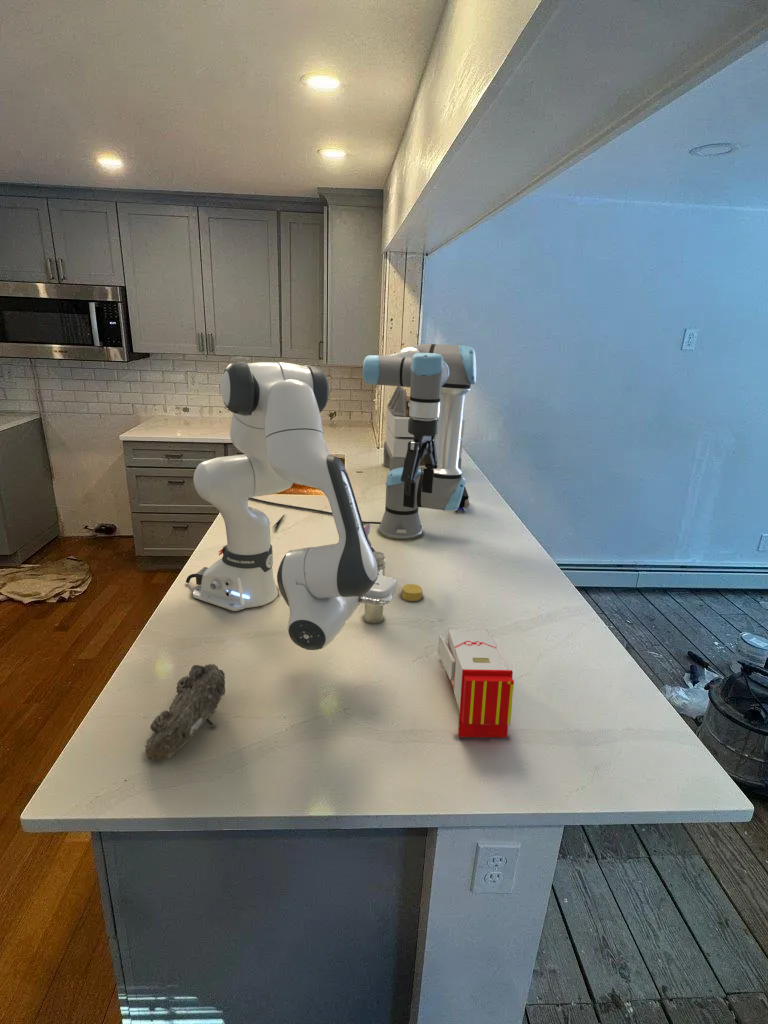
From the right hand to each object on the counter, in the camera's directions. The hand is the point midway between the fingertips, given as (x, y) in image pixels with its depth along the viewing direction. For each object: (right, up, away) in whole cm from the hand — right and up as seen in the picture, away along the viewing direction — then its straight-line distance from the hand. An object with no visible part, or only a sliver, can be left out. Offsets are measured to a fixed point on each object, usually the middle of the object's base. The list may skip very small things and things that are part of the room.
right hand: (418, 499), depth 147 cm
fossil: (-45, -43, -41) cm, 74 cm away
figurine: (-15, -21, +22) cm, 34 cm away
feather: (-46, -6, +62) cm, 77 cm away
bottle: (-12, -30, -3) cm, 33 cm away
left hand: (-14, -16, -20) cm, 30 cm away
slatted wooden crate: (+8, +16, +127) cm, 129 cm away
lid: (-1, -25, +9) cm, 26 cm away
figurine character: (+21, -2, +81) cm, 84 cm away
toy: (+9, -41, -29) cm, 51 cm away
